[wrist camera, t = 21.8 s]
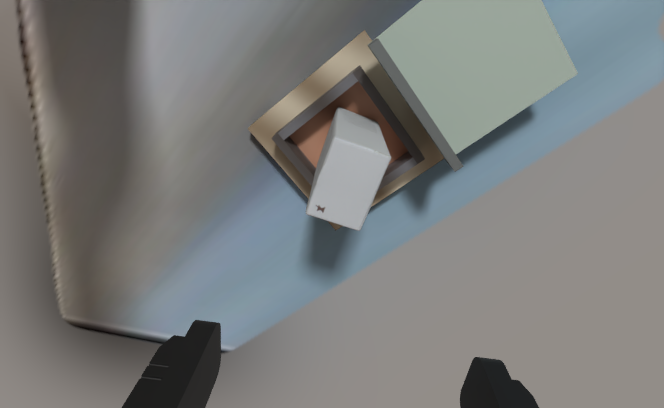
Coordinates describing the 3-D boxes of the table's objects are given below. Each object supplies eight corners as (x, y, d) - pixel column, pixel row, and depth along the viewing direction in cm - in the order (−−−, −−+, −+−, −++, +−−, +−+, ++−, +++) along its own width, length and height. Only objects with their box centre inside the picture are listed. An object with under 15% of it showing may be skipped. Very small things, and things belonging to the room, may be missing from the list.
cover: (444, 158, 33) (454, 171, 30) (367, 45, 30) (369, 46, 27) (573, 72, 30) (601, 77, 27) (503, -68, 26) (525, -82, 23)
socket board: (336, 224, 41) (334, 242, 38) (251, 125, 37) (240, 134, 34) (445, 150, 37) (455, 163, 34) (364, 30, 33) (365, 29, 29)
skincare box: (357, 176, 37) (359, 234, 26) (317, 162, 37) (302, 215, 26) (380, 119, 35) (393, 157, 24) (337, 103, 34) (331, 135, 23)
